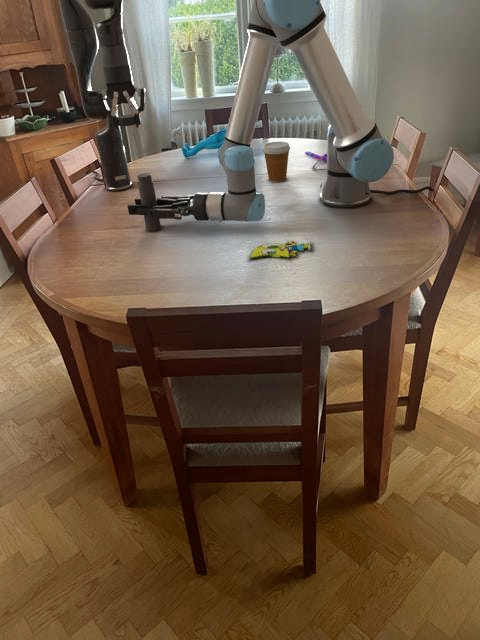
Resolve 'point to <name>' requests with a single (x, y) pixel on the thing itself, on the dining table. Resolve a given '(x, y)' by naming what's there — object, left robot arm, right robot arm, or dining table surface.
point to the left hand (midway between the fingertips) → (128, 127)
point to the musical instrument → (318, 158)
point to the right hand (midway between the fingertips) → (132, 206)
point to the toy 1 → (205, 144)
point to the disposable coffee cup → (276, 160)
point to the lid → (126, 120)
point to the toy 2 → (279, 250)
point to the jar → (148, 200)
